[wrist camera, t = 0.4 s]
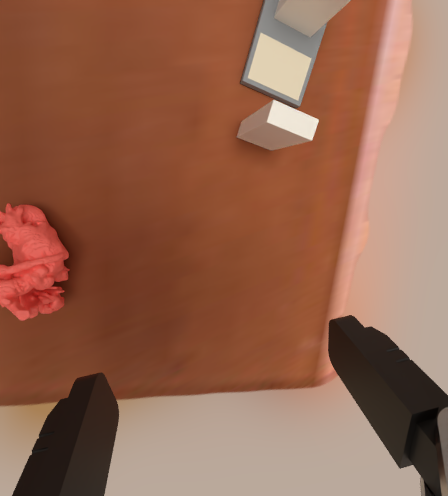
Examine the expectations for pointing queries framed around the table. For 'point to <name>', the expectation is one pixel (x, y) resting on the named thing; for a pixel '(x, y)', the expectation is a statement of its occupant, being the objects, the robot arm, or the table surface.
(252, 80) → the board
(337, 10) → the domino
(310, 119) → the domino
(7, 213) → the anatomical heart
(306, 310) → the table surface
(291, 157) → the table surface
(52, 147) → the table surface
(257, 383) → the table surface
